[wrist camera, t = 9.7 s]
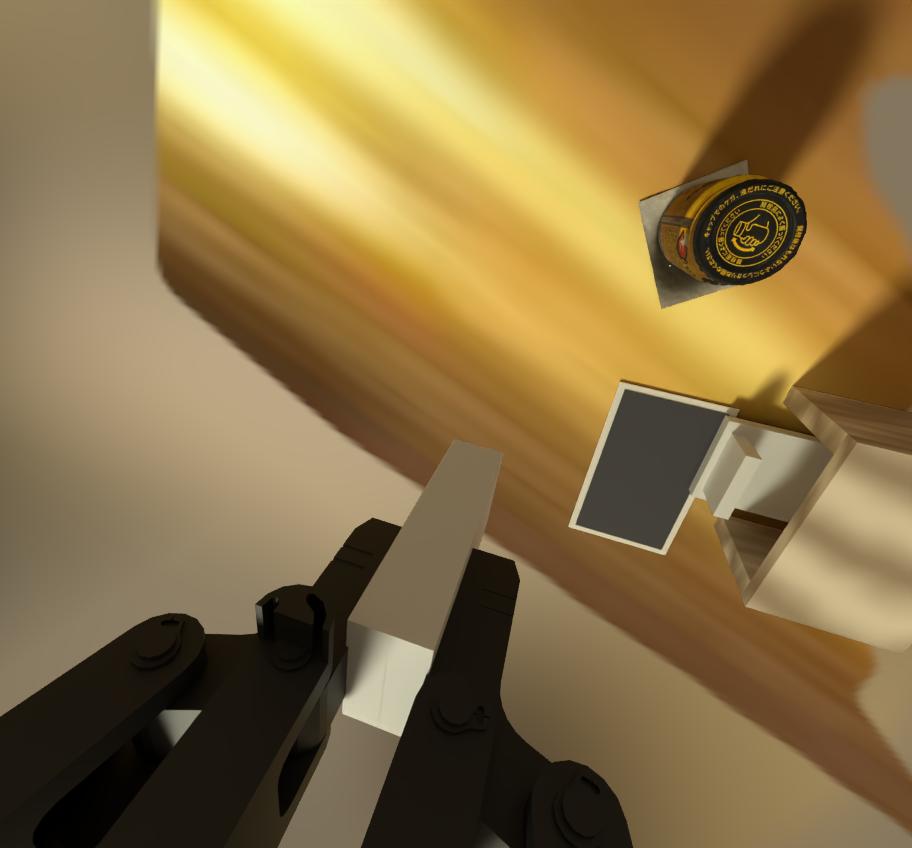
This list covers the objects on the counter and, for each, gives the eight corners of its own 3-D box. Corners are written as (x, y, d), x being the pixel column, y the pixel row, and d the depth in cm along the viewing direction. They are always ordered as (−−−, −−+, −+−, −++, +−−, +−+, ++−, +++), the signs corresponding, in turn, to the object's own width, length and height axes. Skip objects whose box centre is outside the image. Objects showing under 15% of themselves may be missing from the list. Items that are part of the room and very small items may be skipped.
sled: (725, 415, 38) (751, 455, 32) (1059, 495, 34) (1164, 558, 28) (688, 489, 42) (705, 537, 36) (985, 568, 38) (1063, 639, 32)
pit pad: (619, 381, 40) (620, 382, 40) (738, 409, 38) (739, 410, 38) (568, 525, 48) (568, 527, 48) (664, 553, 46) (665, 556, 46)
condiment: (746, 159, 31) (824, 134, 21) (762, 277, 34) (839, 307, 24) (637, 202, 34) (658, 199, 24) (660, 308, 37) (688, 347, 26)
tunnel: (792, 385, 36) (857, 442, 28) (943, 419, 35) (1064, 491, 26) (713, 525, 44) (745, 606, 35) (835, 559, 42) (901, 654, 33)
